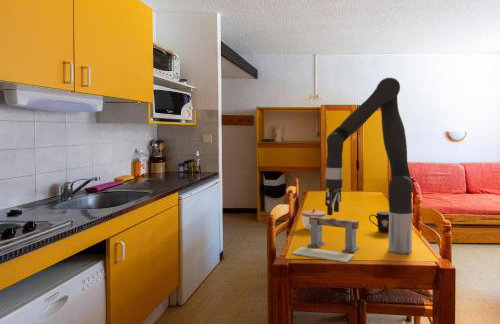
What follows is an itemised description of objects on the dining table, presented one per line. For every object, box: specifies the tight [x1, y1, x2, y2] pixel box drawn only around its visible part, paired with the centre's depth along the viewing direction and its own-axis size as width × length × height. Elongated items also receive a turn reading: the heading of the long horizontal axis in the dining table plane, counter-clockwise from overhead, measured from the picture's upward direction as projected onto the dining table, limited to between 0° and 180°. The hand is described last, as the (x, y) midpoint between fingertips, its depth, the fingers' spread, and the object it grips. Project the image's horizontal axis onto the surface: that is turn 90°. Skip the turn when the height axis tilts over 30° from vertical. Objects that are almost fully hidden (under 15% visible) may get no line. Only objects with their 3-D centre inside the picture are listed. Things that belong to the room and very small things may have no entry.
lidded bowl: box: [301, 208, 327, 232], centre depth 223 cm, size 13×13×11 cm
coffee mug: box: [368, 210, 389, 234], centre depth 217 cm, size 12×9×10 cm
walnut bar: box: [309, 216, 360, 230], centre depth 187 cm, size 22×3×3 cm, turn 60°
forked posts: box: [307, 219, 360, 254], centre depth 187 cm, size 21×8×12 cm, turn 60°
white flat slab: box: [291, 246, 355, 263], centre depth 176 cm, size 24×10×1 cm, turn 60°
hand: (333, 213), depth 187 cm, fingers open, 8 cm apart
